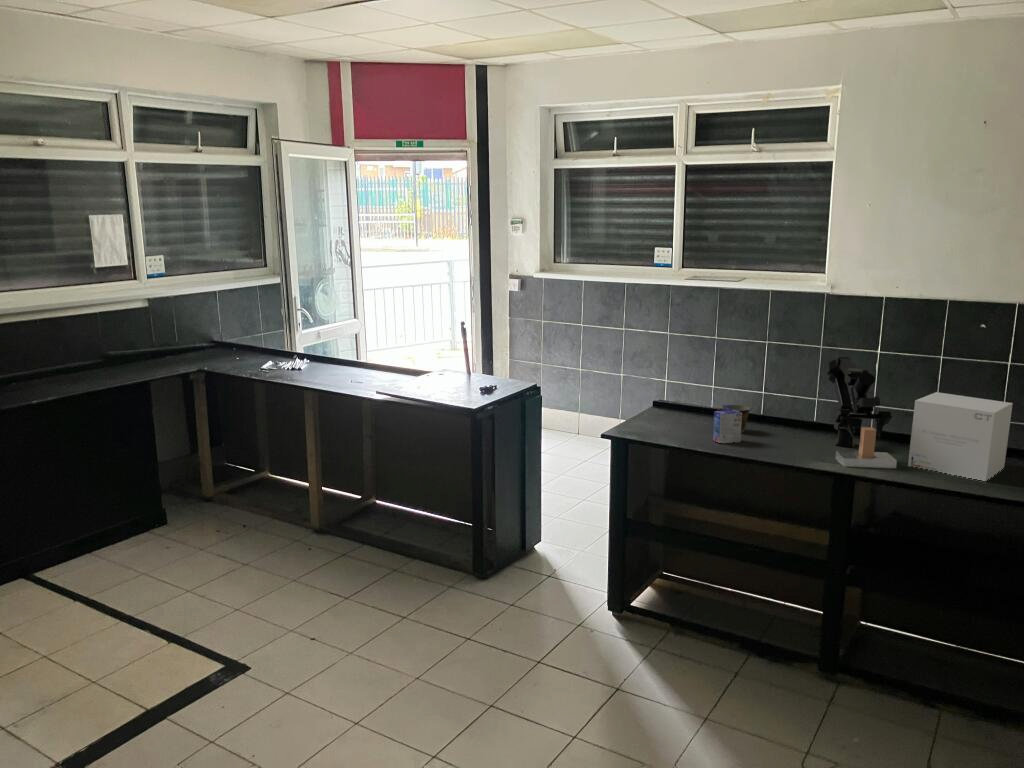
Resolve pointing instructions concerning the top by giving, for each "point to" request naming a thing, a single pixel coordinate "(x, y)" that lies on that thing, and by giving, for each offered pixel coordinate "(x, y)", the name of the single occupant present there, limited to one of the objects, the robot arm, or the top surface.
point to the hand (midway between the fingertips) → (866, 436)
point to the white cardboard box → (960, 435)
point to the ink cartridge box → (727, 425)
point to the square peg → (867, 442)
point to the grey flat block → (865, 460)
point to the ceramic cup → (744, 413)
